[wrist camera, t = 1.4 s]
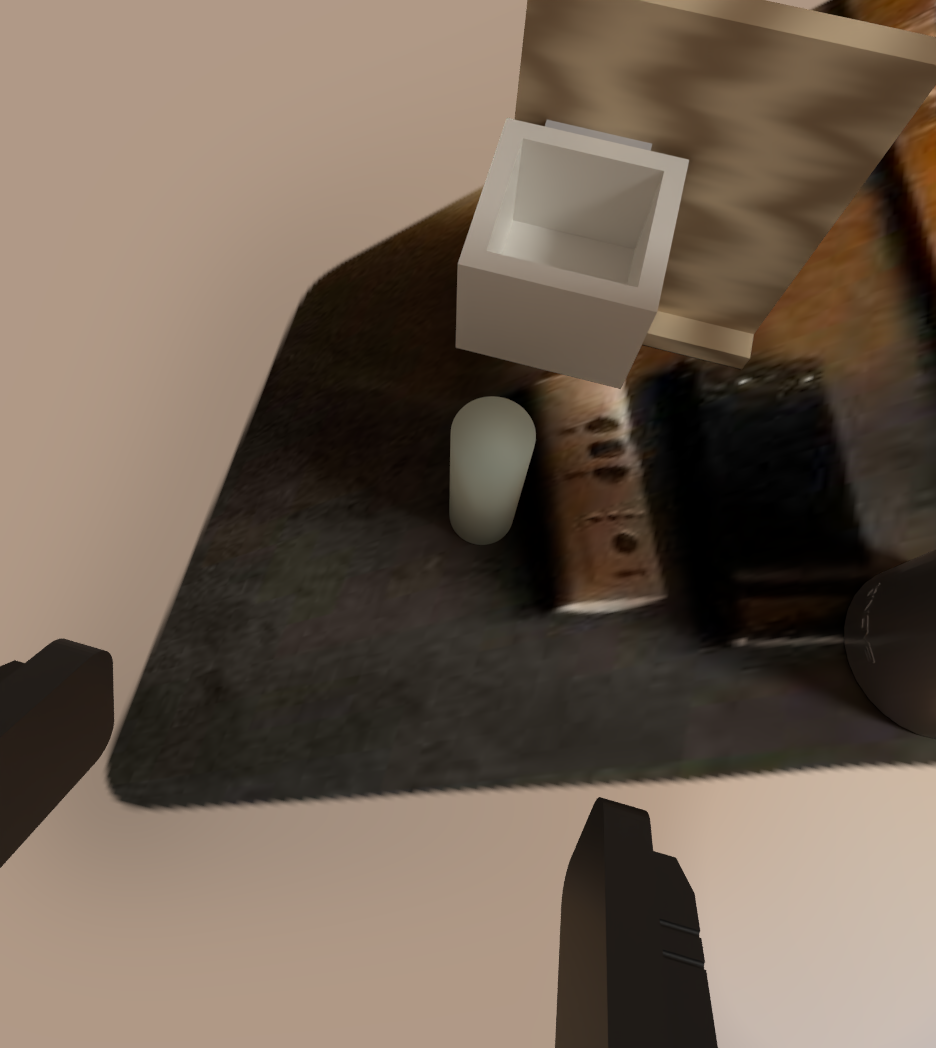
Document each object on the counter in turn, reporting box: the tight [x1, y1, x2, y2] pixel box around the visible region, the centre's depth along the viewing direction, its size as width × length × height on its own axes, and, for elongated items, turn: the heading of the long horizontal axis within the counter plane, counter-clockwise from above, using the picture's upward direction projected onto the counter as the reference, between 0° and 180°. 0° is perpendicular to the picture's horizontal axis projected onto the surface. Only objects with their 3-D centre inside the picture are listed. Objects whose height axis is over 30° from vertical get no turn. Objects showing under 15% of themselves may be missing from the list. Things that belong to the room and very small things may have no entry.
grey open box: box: [456, 118, 689, 389], centre depth 33 cm, size 9×9×6 cm
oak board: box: [515, 0, 936, 369], centre depth 34 cm, size 16×4×18 cm, turn 75°
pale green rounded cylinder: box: [449, 396, 536, 545], centre depth 33 cm, size 4×4×10 cm
